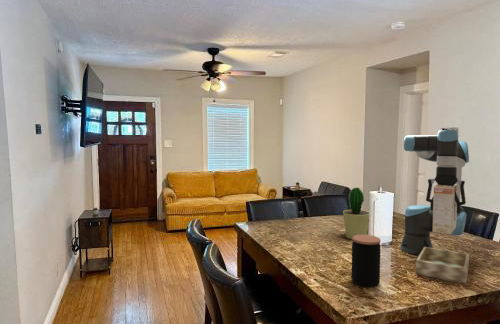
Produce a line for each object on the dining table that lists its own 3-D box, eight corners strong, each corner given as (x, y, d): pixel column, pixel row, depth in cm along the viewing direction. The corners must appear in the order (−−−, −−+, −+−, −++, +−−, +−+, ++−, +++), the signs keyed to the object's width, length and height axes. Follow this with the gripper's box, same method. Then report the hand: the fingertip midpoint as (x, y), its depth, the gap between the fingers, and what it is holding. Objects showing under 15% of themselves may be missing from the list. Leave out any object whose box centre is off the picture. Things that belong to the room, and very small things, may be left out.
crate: (415, 274, 142) (416, 260, 141) (423, 259, 160) (424, 246, 159) (466, 284, 131) (466, 269, 131) (468, 267, 149) (469, 254, 149)
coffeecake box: (438, 225, 152) (439, 182, 151) (456, 227, 147) (458, 183, 146) (431, 231, 140) (432, 185, 139) (450, 234, 136) (452, 187, 135)
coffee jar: (373, 277, 139) (374, 234, 137) (384, 288, 128) (385, 242, 127) (347, 277, 138) (348, 234, 137) (356, 288, 128) (357, 242, 126)
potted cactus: (365, 242, 185) (366, 189, 183) (338, 237, 195) (339, 186, 193) (373, 236, 198) (374, 186, 196) (348, 232, 207) (349, 184, 205)
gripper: (418, 165, 145) (417, 217, 147) (474, 167, 134) (472, 224, 135) (421, 164, 151) (420, 214, 153) (475, 166, 140) (473, 220, 141)
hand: (444, 219), depth 144 cm, fingers closed on coffeecake box, 7 cm apart
